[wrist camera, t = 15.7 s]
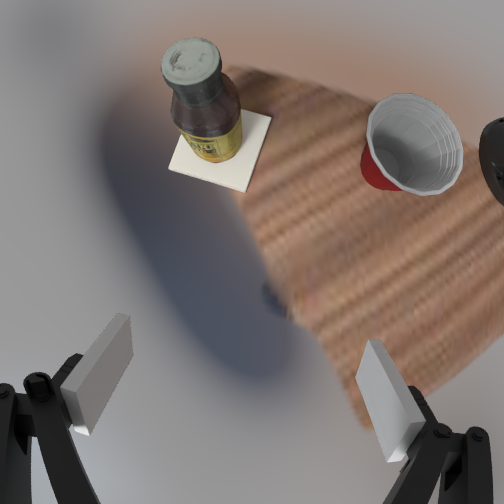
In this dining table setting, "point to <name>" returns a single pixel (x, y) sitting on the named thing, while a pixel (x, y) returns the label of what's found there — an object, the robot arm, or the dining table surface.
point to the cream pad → (232, 170)
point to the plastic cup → (411, 146)
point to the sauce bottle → (203, 99)
